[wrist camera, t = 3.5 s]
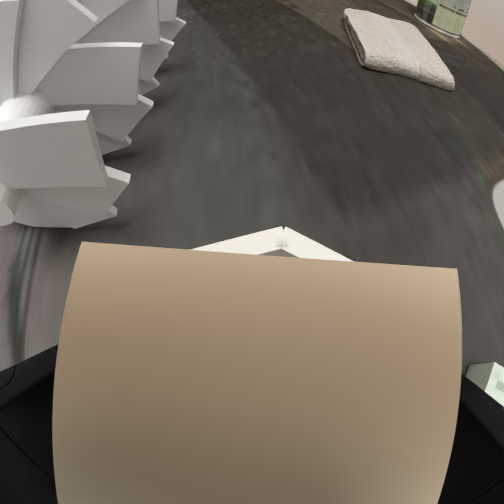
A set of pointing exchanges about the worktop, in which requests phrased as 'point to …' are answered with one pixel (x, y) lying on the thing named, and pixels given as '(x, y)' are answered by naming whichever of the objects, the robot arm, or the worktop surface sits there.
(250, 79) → the worktop surface
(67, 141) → the spiral staircase
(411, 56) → the washcloth
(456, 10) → the coffee can
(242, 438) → the dowel block
